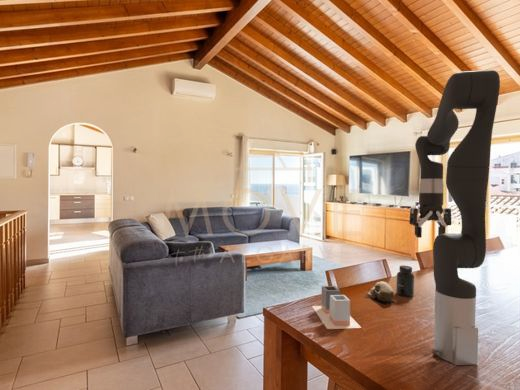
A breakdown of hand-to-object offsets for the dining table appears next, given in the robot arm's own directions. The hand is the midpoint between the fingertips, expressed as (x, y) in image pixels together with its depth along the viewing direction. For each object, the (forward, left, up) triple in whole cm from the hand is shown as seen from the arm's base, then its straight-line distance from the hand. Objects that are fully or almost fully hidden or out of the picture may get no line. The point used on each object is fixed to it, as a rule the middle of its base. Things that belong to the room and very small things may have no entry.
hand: (430, 237), depth 107 cm
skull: (+16, +9, -28) cm, 34 cm away
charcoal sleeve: (+3, +35, -27) cm, 44 cm away
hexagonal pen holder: (-6, +35, -27) cm, 44 cm away
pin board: (-2, +35, -28) cm, 45 cm away
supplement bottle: (+21, -4, -28) cm, 35 cm away
